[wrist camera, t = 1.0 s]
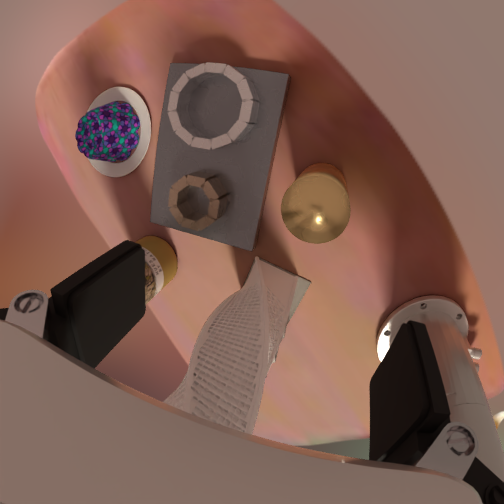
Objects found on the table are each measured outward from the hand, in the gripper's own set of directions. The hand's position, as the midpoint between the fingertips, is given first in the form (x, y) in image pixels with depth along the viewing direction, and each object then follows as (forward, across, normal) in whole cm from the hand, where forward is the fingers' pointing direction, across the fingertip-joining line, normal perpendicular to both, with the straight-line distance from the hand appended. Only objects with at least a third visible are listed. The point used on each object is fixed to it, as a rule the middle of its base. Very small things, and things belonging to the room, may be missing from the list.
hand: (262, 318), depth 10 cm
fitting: (+23, -1, 0) cm, 23 cm away
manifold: (+23, +11, -2) cm, 26 cm away
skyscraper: (+24, +2, +13) cm, 27 cm away
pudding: (+24, +25, -2) cm, 35 cm away
